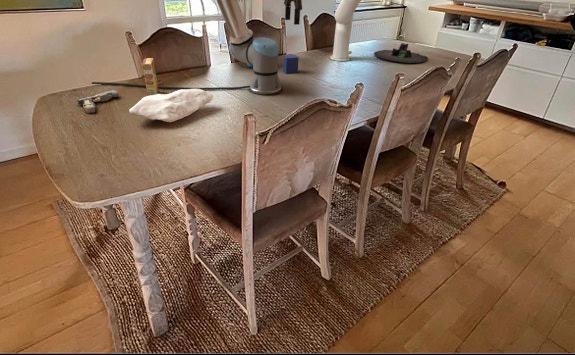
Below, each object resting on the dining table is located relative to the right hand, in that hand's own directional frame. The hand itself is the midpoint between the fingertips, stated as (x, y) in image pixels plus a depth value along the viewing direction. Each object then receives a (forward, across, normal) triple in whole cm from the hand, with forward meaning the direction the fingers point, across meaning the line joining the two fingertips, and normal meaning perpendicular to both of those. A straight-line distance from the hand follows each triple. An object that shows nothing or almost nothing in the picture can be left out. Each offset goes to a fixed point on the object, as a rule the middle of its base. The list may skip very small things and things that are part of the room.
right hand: (288, 0), depth 223 cm
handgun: (+32, -66, +108) cm, 131 cm away
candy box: (+32, -60, +87) cm, 110 cm away
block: (+32, -40, +12) cm, 53 cm away
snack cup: (+32, -26, +30) cm, 51 cm away
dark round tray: (+32, -25, -71) cm, 82 cm away
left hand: (+6, -40, +13) cm, 43 cm away
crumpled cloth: (+32, -85, +81) cm, 121 cm away
